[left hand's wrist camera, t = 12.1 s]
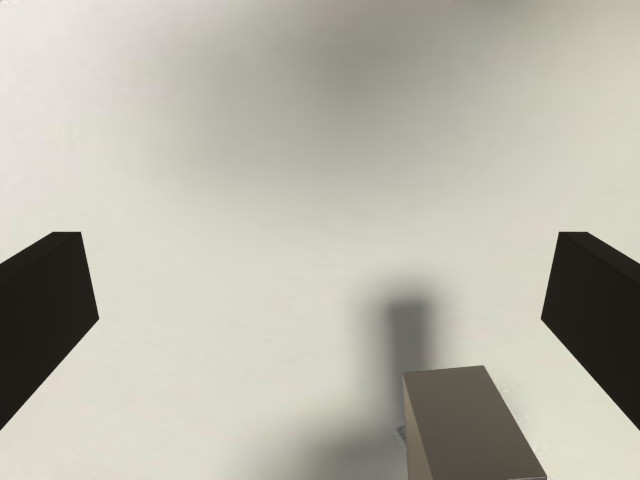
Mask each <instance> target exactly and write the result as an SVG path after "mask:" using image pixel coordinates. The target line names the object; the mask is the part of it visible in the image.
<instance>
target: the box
mask: <svg viewBox="0 0 640 480" xmlns="http://www.w3.org/2000/svg"><path fill="white" fill-rule="evenodd" d="M402 378H403V395H404V413H405V430H406V448H407V465H408V480H547V475H546V473H545V472H544V470H543V468H542V466H541V465H540V463H539V461H538V459H537V458H536V456H535V454H534V452H533V451H532V449H531V447H530V445H529V444H528V442H527V440H526V438H525V437H524V435H523V433H522V431H521V430H520V428H519V426H518V424H517V423H516V421H515V419H514V417H513V416H512V414H511V412H510V411H509V409H508V407H507V405H506V404H505V402H504V400H503V398H502V397H501V395H500V393H499V391H498V390H497V388H496V386H495V384H494V383H493V381H492V379H491V377H490V376H489V374H488V372H487V370H486V369H485V367H484V366H483V365H481V366H471V367H460V368H449V369H439V370H428V371H418V372H407V373H402Z"/></svg>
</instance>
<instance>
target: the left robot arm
mask: <svg viewBox="0 0 640 480" xmlns="http://www.w3.org/2000/svg"><path fill="white" fill-rule="evenodd" d="M98 320H99V315H98V311H97V306H96V301H95V296H94V292H93V287H92V282H91V277H90V273H89V268H88V263H87V258H86V254H85V249H84V244H83V240H82V235H81V232H52V233H50V234H49V235H47V236H45V237H44V238H42V239H40V240H39V241H37V242H35V243H34V244H32V245H30V246H29V247H27V248H26V249H24V250H22V251H21V252H19V253H17V254H16V255H14V256H12V257H11V258H9V259H7V260H6V261H4V262H2V263H1V264H0V430H1V429H2V428H3V427H4V426H5V425H6V424H7V422H8V421H9V420H10V419H11V418H12V417H13V416H14V415H15V413H16V412H17V411H18V410H19V409H20V408H21V407H22V406H23V404H24V403H25V402H26V401H27V400H28V399H29V398H30V396H31V395H32V394H33V393H34V392H35V391H36V390H37V389H38V387H39V386H40V385H41V384H42V383H43V382H44V381H45V380H46V378H47V377H48V376H49V375H50V374H51V373H52V372H53V371H54V369H55V368H56V367H57V366H58V365H59V364H60V363H61V362H62V360H63V359H64V358H65V357H66V356H67V355H68V354H69V352H70V351H71V350H72V349H73V348H74V347H75V346H76V345H77V343H78V342H79V341H80V340H81V339H82V338H83V337H84V336H85V334H86V333H87V332H88V331H89V330H90V329H91V328H92V327H93V325H94V324H95V323H96V322H97V321H98ZM541 320H542V321H543V322H544V323H545V324H546V325H547V327H548V328H549V329H550V330H551V331H552V332H553V333H554V334H555V336H556V337H557V338H558V339H559V340H560V341H561V342H562V343H563V345H564V346H565V347H566V348H567V349H568V350H569V351H570V352H571V354H572V355H573V356H574V357H575V358H576V359H577V360H578V362H579V363H580V364H581V365H582V366H583V367H584V368H585V369H586V371H587V372H588V373H589V374H590V375H591V376H592V377H593V378H594V380H595V381H596V382H597V383H598V384H599V385H600V386H601V387H602V389H603V390H604V391H605V392H606V393H607V394H608V395H609V396H610V398H611V399H612V400H613V401H614V402H615V403H616V404H617V406H618V407H619V408H620V409H621V410H622V411H623V412H624V413H625V415H626V416H627V417H628V418H629V419H630V420H631V421H632V422H633V424H634V425H635V426H636V427H637V428H638V429H639V430H640V264H639V263H638V262H636V261H634V260H633V259H631V258H629V257H628V256H626V255H624V254H623V253H621V252H619V251H618V250H616V249H614V248H613V247H611V246H610V245H608V244H606V243H605V242H603V241H601V240H600V239H598V238H596V237H595V236H593V235H591V234H590V233H588V232H559V235H558V240H557V244H556V249H555V254H554V258H553V263H552V268H551V273H550V277H549V282H548V287H547V292H546V296H545V301H544V306H543V311H542V315H541Z"/></svg>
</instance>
